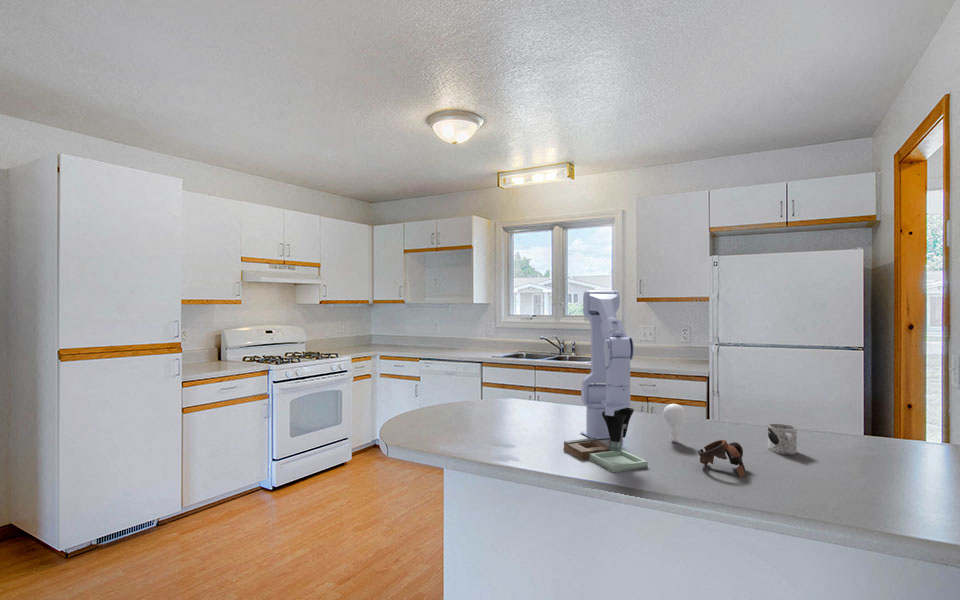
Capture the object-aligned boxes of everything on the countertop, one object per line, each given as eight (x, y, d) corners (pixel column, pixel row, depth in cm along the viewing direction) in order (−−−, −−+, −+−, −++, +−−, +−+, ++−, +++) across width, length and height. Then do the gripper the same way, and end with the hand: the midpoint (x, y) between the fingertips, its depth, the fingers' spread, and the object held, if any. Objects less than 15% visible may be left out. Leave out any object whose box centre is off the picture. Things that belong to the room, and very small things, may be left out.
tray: (622, 455, 128) (622, 449, 128) (647, 467, 119) (647, 461, 119) (589, 459, 125) (589, 453, 125) (613, 472, 116) (613, 466, 116)
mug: (764, 446, 137) (764, 422, 137) (790, 448, 136) (790, 424, 136) (778, 457, 127) (778, 432, 127) (806, 459, 126) (806, 433, 126)
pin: (613, 444, 126) (615, 419, 125) (627, 450, 122) (630, 424, 122) (602, 447, 123) (604, 421, 123) (616, 454, 120) (618, 427, 119)
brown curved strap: (738, 484, 110) (718, 450, 112) (705, 489, 118) (686, 457, 120) (762, 460, 117) (742, 428, 119) (729, 467, 125) (711, 437, 126)
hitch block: (594, 445, 137) (594, 437, 137) (614, 455, 128) (614, 446, 128) (563, 449, 133) (563, 441, 133) (581, 459, 125) (581, 450, 125)
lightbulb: (662, 443, 139) (663, 405, 139) (663, 438, 145) (663, 401, 145) (686, 446, 137) (686, 407, 137) (685, 440, 143) (685, 402, 143)
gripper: (611, 379, 130) (611, 430, 130) (592, 387, 118) (592, 443, 118) (638, 382, 126) (638, 434, 126) (621, 390, 114) (621, 448, 114)
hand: (618, 439), depth 122 cm, fingers closed on pin, 4 cm apart
